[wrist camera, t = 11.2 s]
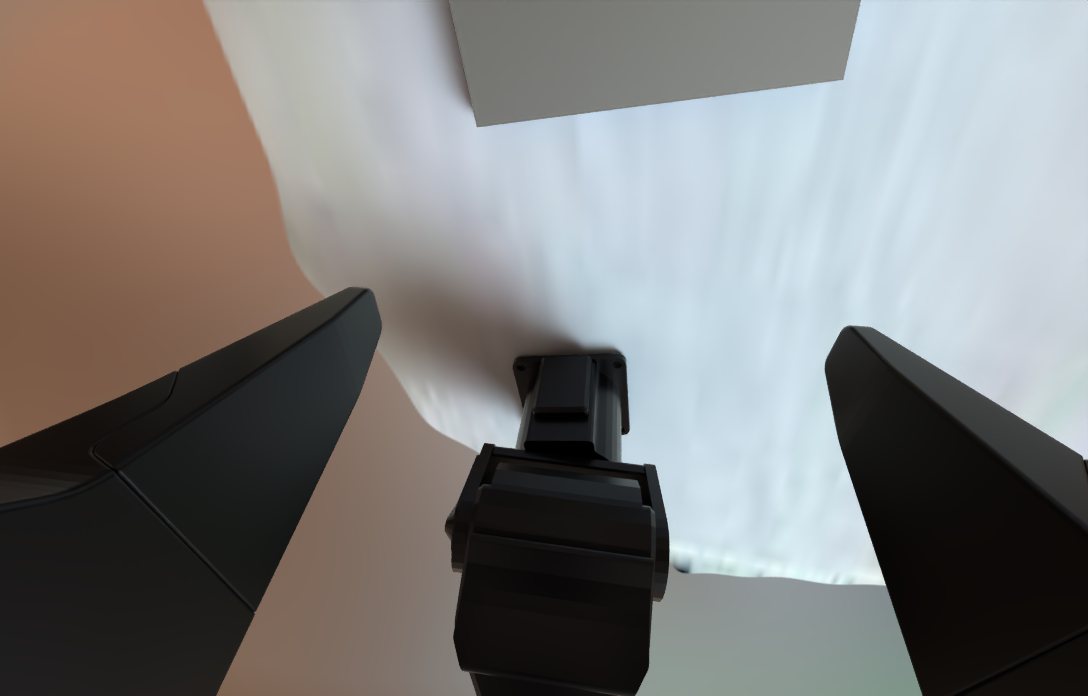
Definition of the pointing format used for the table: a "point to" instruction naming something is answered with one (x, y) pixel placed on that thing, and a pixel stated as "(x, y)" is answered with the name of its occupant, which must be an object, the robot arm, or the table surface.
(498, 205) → the table surface
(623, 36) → the plate
